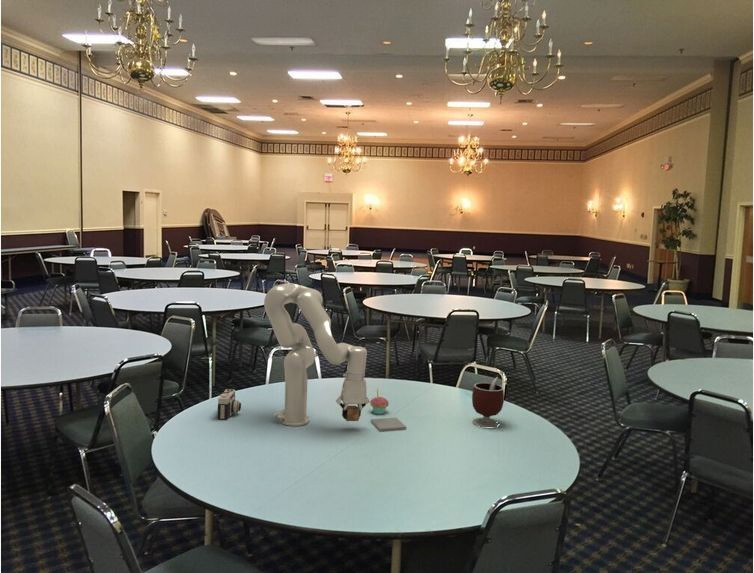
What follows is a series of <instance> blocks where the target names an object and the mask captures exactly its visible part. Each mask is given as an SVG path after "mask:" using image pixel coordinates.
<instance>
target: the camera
mask: <svg viewBox="0 0 754 573" xmlns="http://www.w3.org/2000/svg"><path fill="white" fill-rule="evenodd" d="M241 409H242V402H240V401H239V400H236V390H235V389H232V388H228V389H227V388H226V389H225V390H224V391H223V392H222V393H221V394H220V395H219V397H218V398H217V420H218V421H228V420H229V419H230V417H231V416H232V415H233V414H237V413H238V412H240V411H241Z"/></svg>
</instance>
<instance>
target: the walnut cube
mask: <svg viewBox="0 0 754 573" xmlns="http://www.w3.org/2000/svg"><path fill="white" fill-rule="evenodd" d="M359 410H360V409H359V408H358V405H357V404H350V405H348V406H347V418H346V419H345V420H346V422H359V420H360V417H359Z"/></svg>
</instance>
